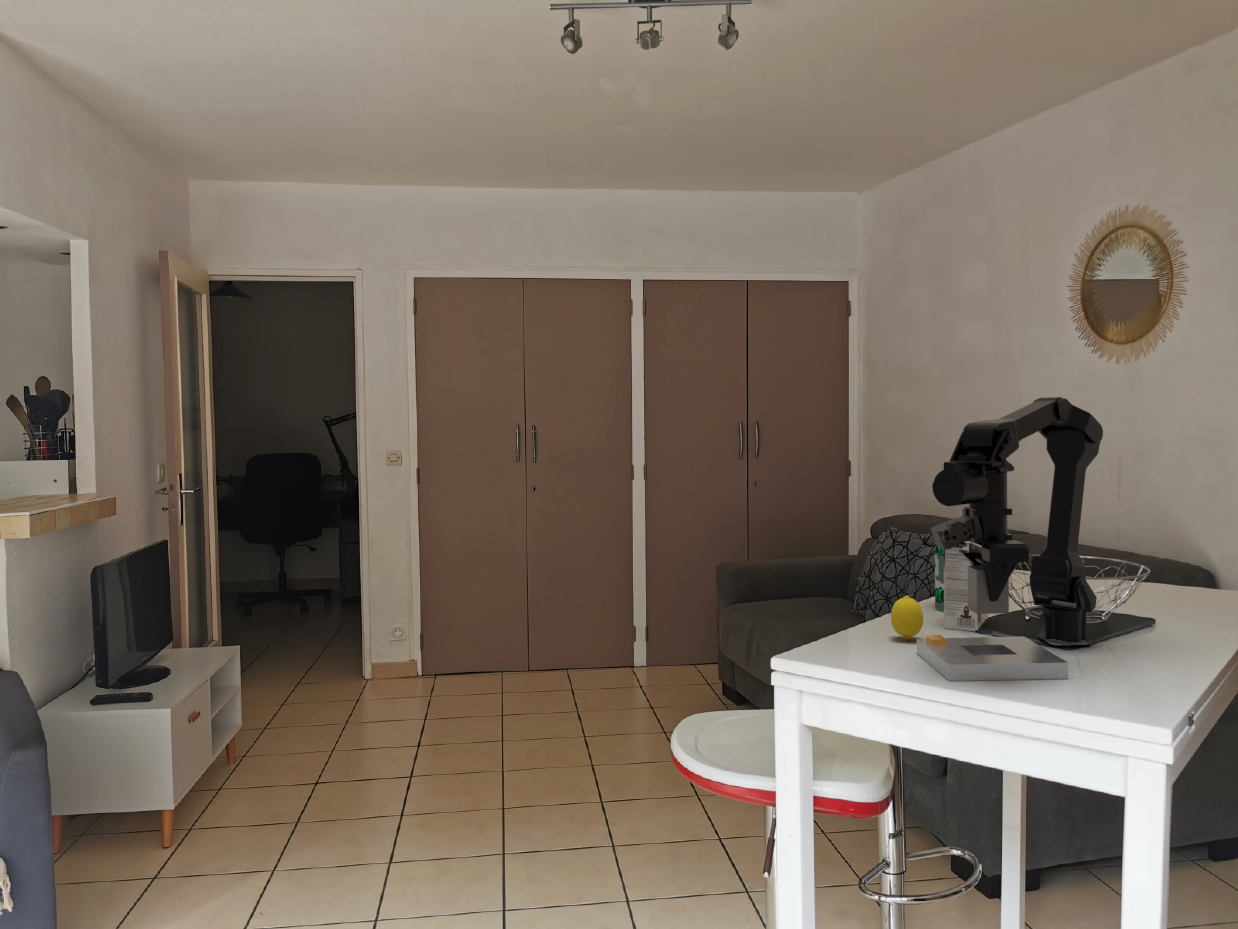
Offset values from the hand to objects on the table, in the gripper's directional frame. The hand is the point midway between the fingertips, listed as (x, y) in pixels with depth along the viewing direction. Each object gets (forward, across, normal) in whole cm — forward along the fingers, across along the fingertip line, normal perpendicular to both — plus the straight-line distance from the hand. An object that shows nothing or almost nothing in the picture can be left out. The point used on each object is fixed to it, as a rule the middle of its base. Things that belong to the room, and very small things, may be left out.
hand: (988, 598), depth 145 cm
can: (+11, -41, +8) cm, 43 cm away
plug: (+2, 0, 0) cm, 2 cm away
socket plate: (+11, 0, 0) cm, 11 cm away
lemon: (+11, -17, -8) cm, 22 cm away
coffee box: (+11, -27, +6) cm, 30 cm away
